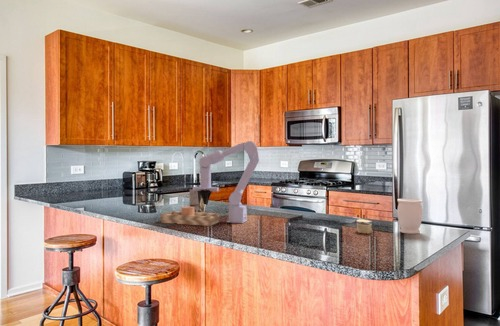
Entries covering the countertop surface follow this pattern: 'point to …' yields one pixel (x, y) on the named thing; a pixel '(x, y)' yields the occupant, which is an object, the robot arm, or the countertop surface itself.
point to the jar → (409, 215)
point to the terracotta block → (187, 211)
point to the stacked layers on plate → (363, 226)
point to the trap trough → (190, 218)
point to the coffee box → (197, 201)
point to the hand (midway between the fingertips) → (205, 204)
